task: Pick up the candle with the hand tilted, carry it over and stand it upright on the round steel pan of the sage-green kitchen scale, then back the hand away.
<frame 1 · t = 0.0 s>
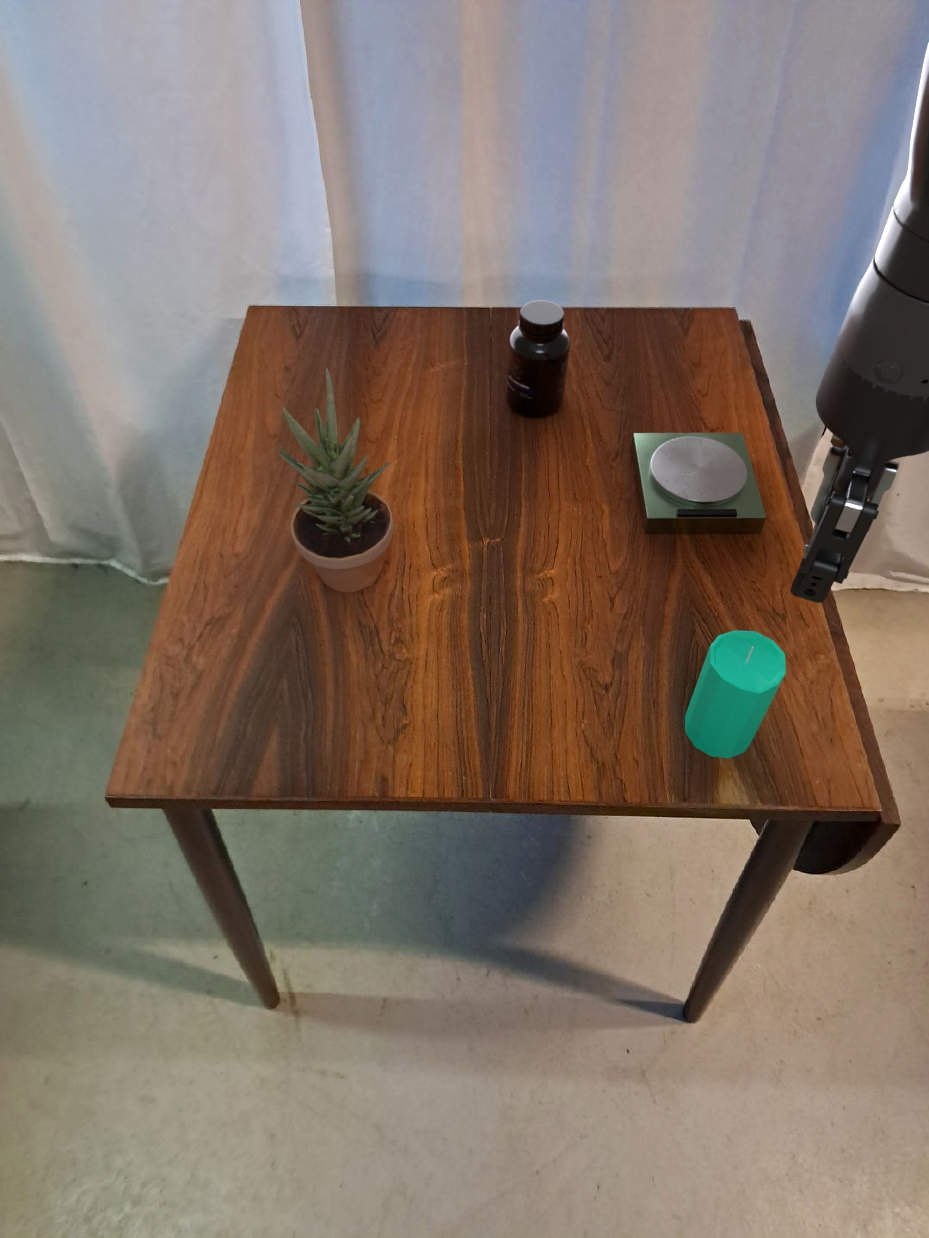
hand: (818, 551, 60), 22 cm above the table, tool pointing down, fingers open, 8 cm apart
candle: (718, 729, 78), on the table
supplement bottle: (534, 403, 105), on the table
scale: (692, 490, 96), on the table
potted plant: (352, 572, 89), on the table
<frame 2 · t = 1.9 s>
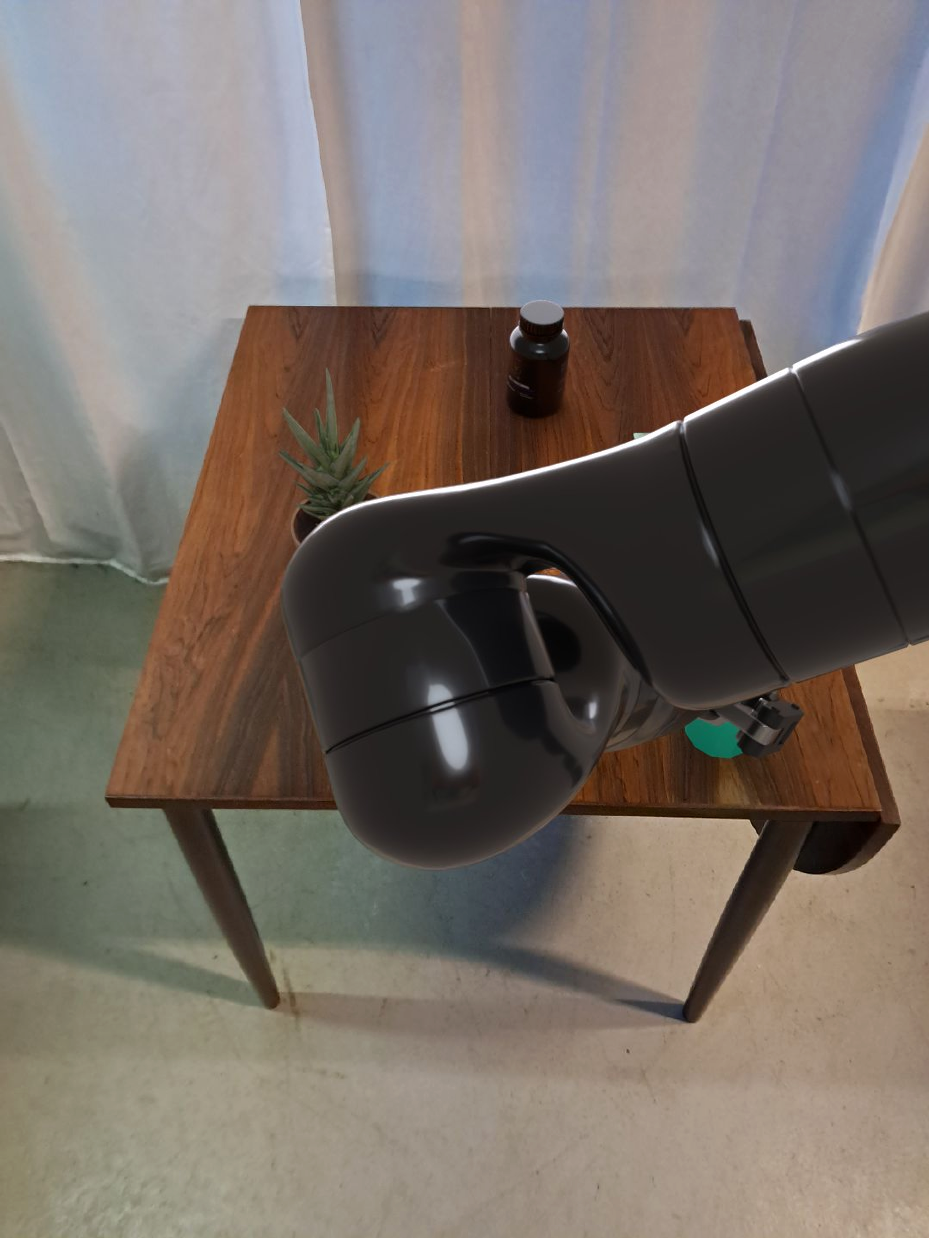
hand: (699, 657, 54), 23 cm above the table, tool tilted 45°, fingers open, 8 cm apart
nothing on the table moved.
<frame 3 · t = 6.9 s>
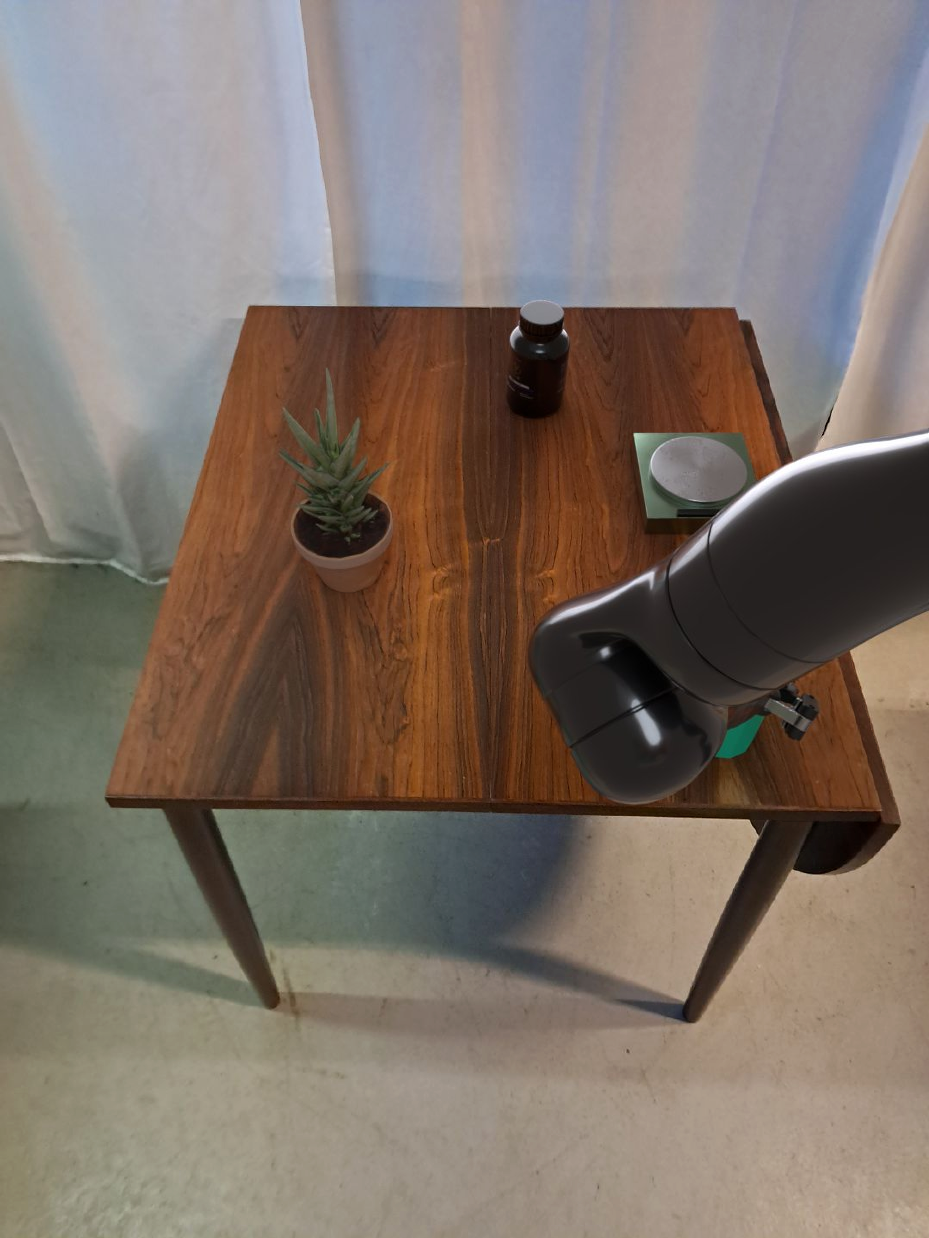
hand: (749, 668, 73), 7 cm above the table, tool tilted 45°, fingers closed on candle, 6 cm apart
candle: (718, 729, 78), on the table, touching gripper
everything else where it was.
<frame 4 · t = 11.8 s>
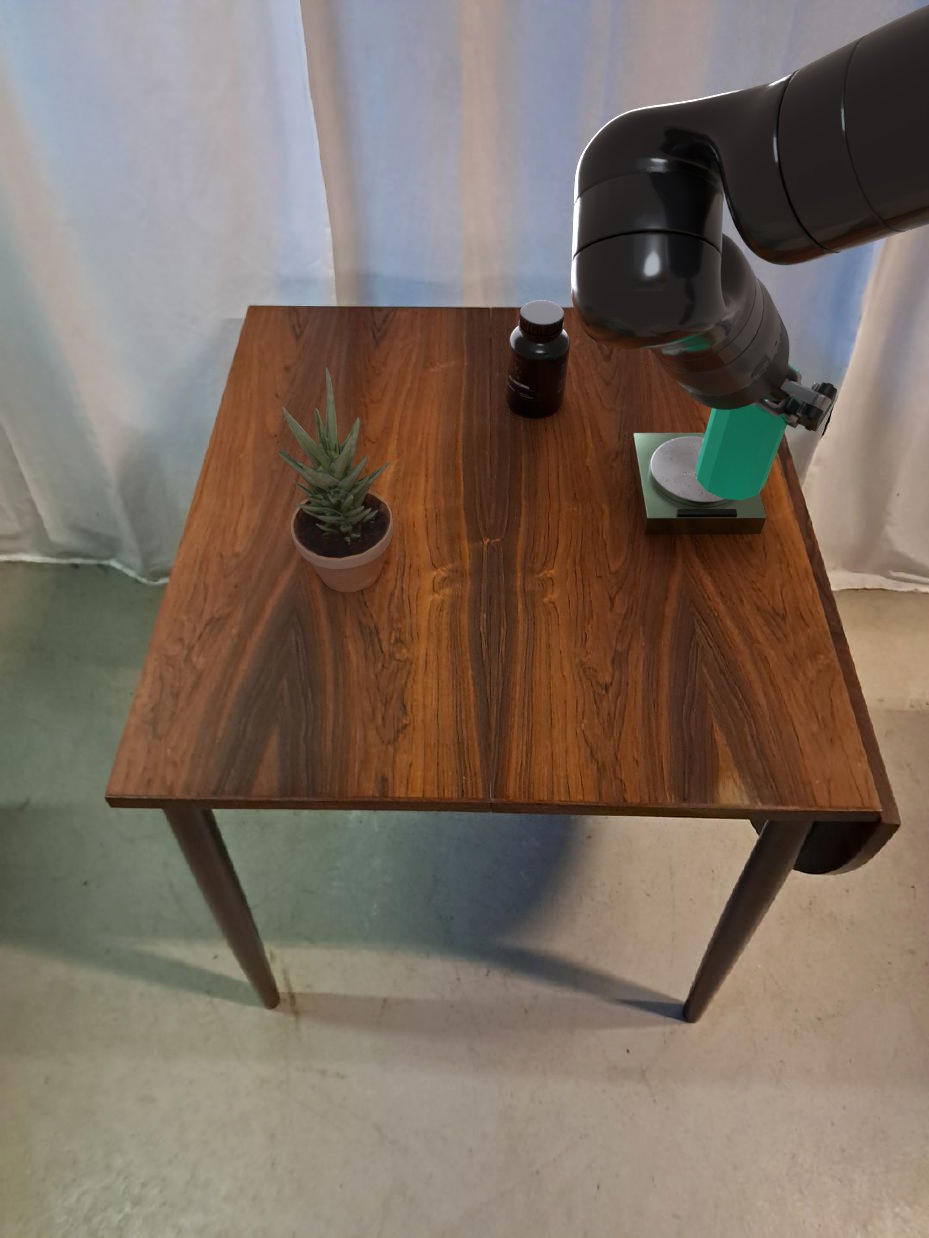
hand: (762, 398, 72), 21 cm above the table, tool tilted 45°, fingers closed on candle, 6 cm apart
candle: (729, 477, 77), point 14 cm above the table, touching gripper
everything else where it was.
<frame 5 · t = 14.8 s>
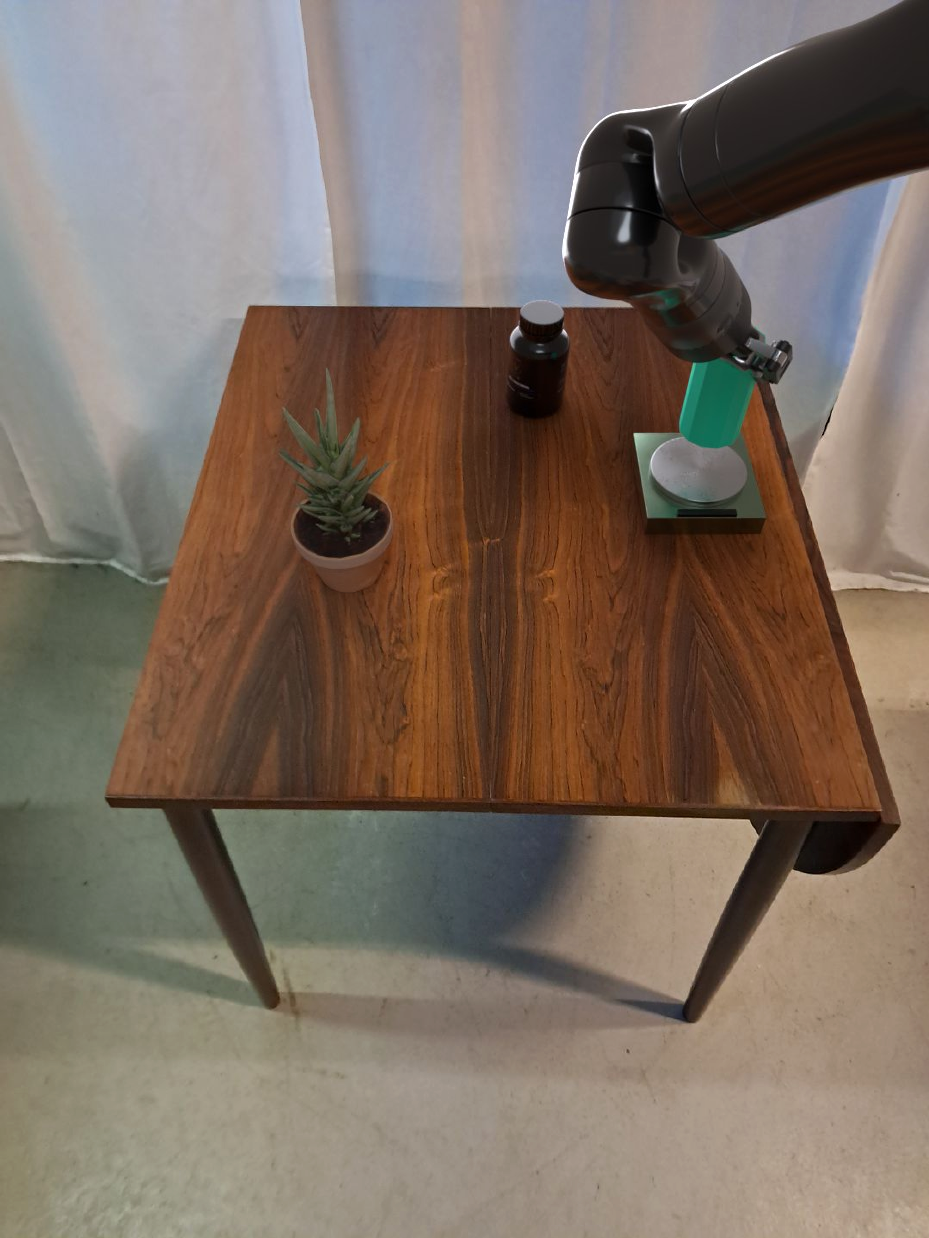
hand: (735, 359, 84), 16 cm above the table, tool tilted 45°, fingers closed on candle, 6 cm apart
candle: (708, 430, 89), point 8 cm above the table, touching gripper
everything else where it was.
when the fingers open (11 cm above the table, at t = 16.8 s): candle stays where it is, resting on scale.
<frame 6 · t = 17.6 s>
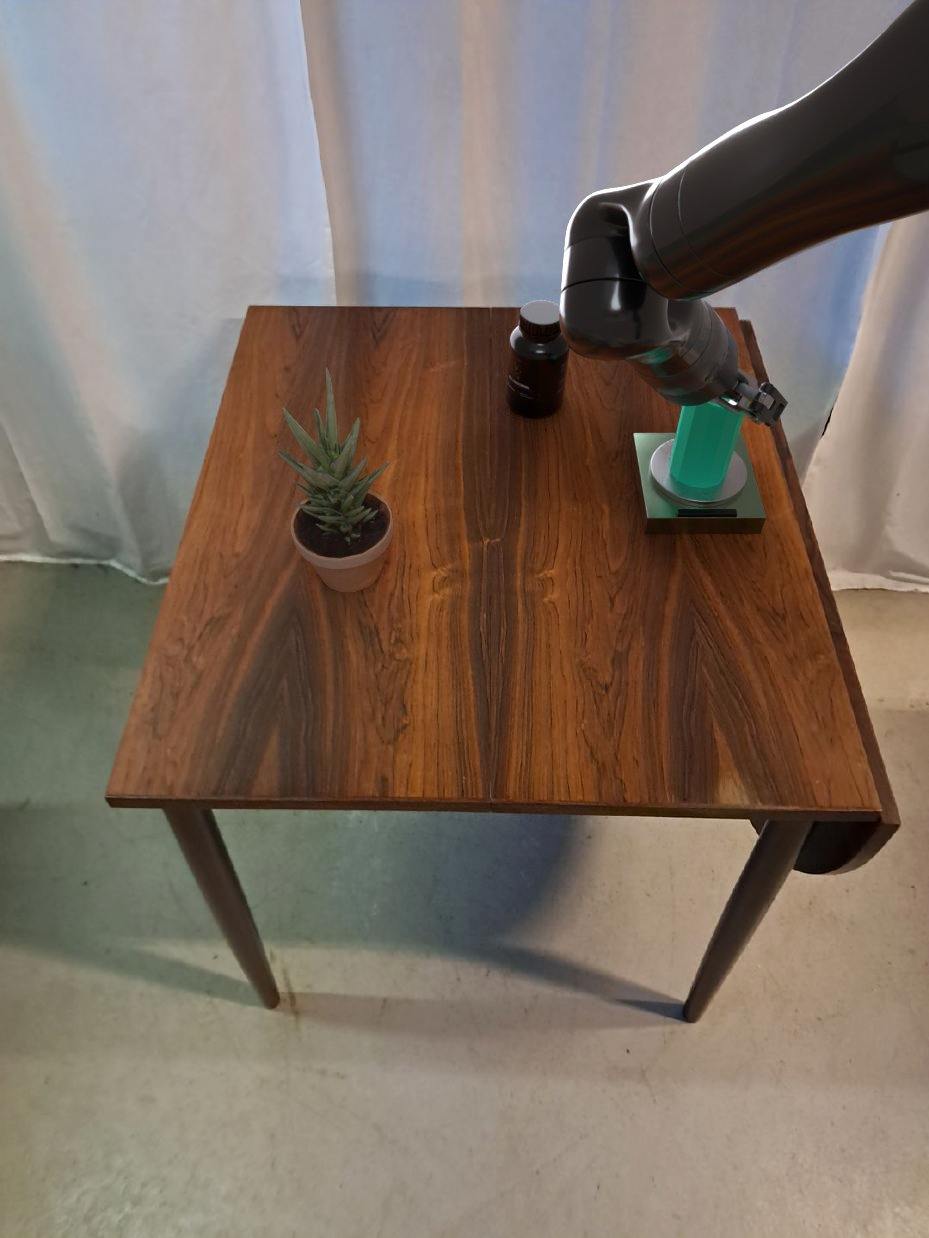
hand: (723, 395, 87), 12 cm above the table, tool tilted 45°, fingers open, 8 cm apart
candle: (697, 469, 93), point 3 cm above the table, touching scale
everything else where it was.
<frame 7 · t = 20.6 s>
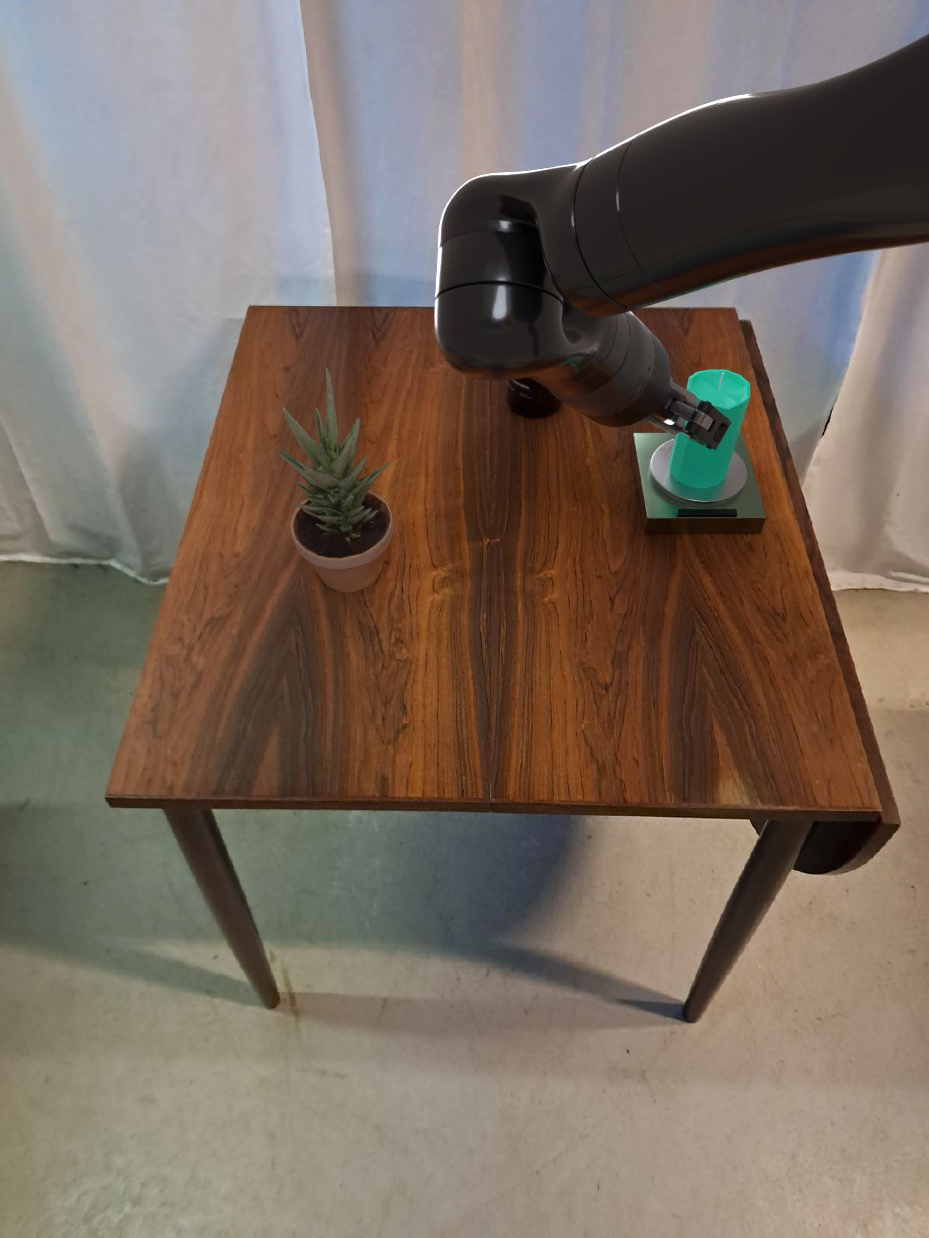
hand: (665, 412, 77), 17 cm above the table, tool tilted 45°, fingers open, 8 cm apart
nothing on the table moved.
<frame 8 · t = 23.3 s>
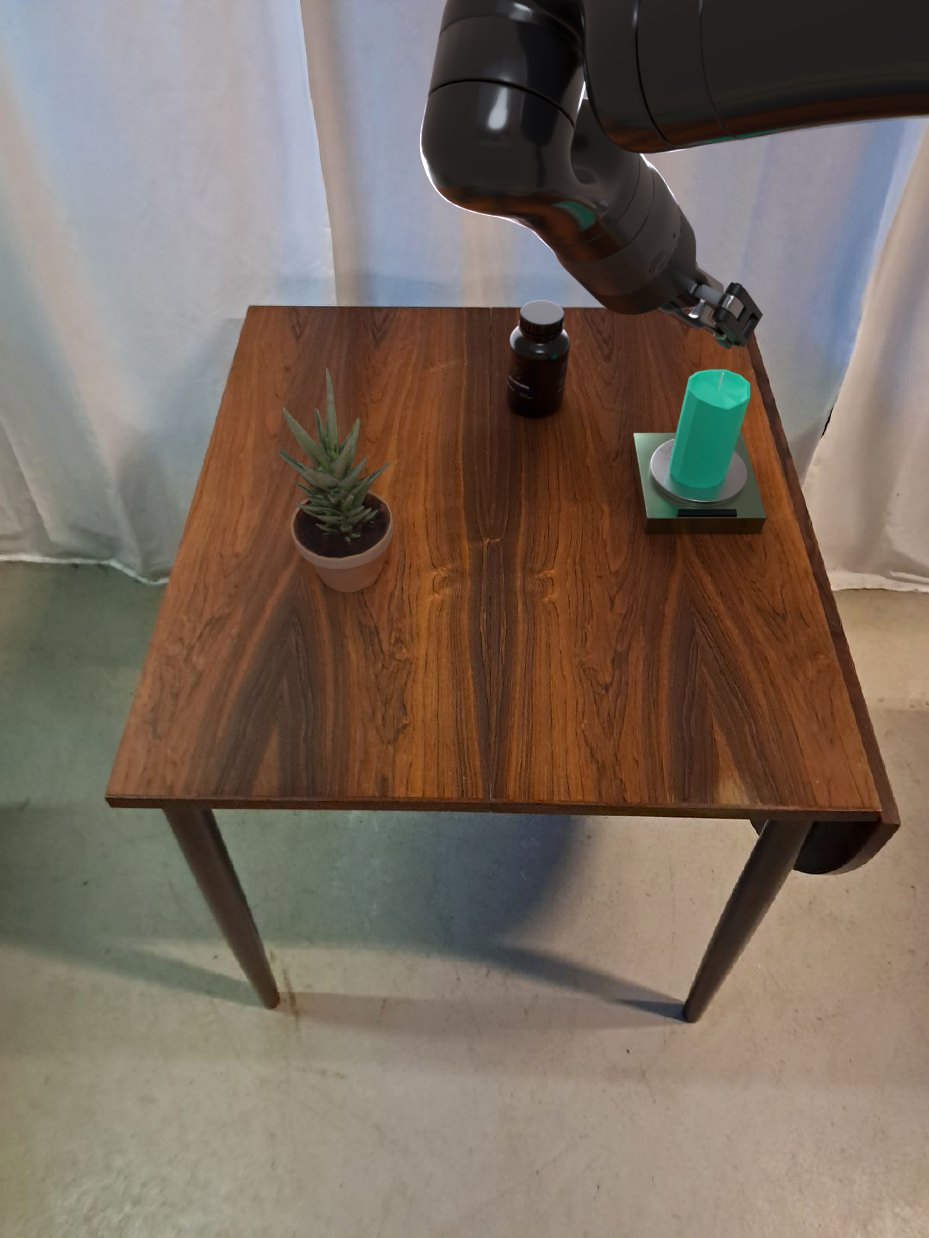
hand: (685, 315, 70), 27 cm above the table, tool tilted 45°, fingers open, 8 cm apart
nothing on the table moved.
at the end: candle inside the target area on the scale (0.1 cm from its centre), point 3.0 cm above the scale's base; candle tilted 0°; the gripper is holding nothing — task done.
